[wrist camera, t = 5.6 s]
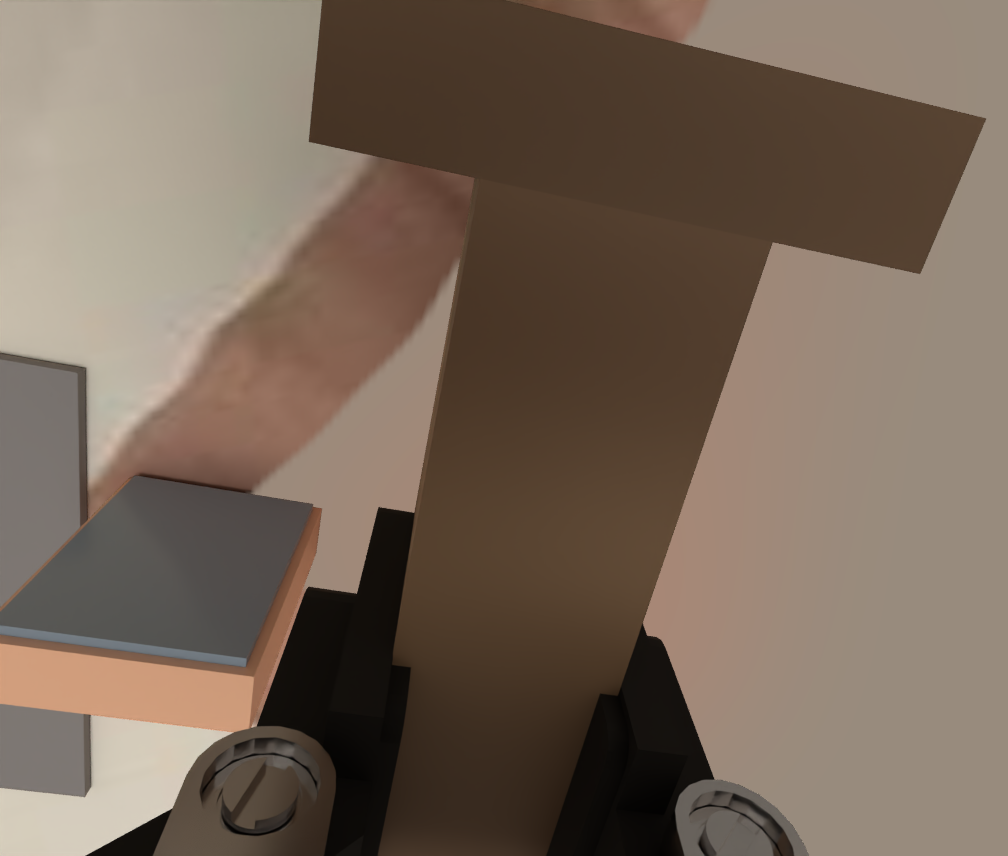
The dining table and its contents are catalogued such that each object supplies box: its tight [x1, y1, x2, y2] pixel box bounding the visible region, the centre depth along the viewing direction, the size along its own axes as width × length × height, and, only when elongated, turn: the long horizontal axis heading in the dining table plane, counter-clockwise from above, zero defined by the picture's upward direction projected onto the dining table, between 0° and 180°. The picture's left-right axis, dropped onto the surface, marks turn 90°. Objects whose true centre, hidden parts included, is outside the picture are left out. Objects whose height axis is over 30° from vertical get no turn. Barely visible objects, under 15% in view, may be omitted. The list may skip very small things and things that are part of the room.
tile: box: [0, 476, 322, 732], centre depth 23 cm, size 2×7×9 cm, turn 78°
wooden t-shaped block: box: [309, 0, 986, 856], centre depth 10 cm, size 16×5×4 cm, turn 168°
